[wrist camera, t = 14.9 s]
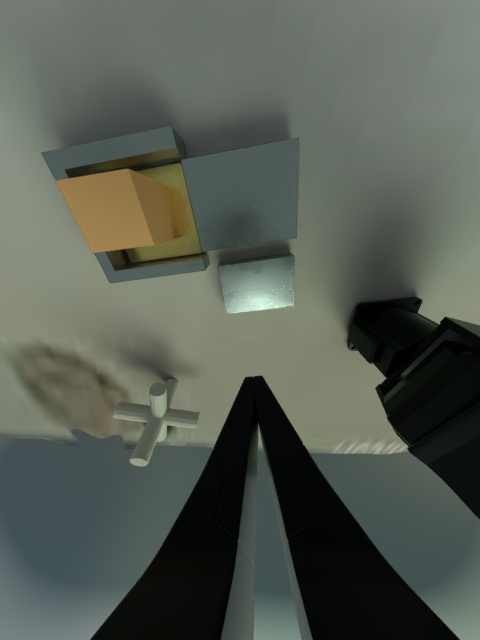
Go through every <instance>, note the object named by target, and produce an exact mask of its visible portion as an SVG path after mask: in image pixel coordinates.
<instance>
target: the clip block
mask: <svg viewBox="0 0 480 640" xmlns="http://www.w3.org/2000/svg"><path fill="white" fill-rule="evenodd" d="M55 182H56V184H57V186H58V188H59V190H60V192H61V193H62V195H63V197H64V199H65V201H66V203H67V205H68V207H69V209H70V211H71V213H72V215H73V217H74V219H75V221H76V222H77V224H78V226H79V228H80V230H81V232H82V234H83V236H84V238H85V240H86V242H87V244H88V246H89V248H90V250H91V251H92V253H98V252H105V251H113V250H120V249H128V248H136V247H143V246H151V245H156V244H160V243H163V242H166V241H170V240H173V239H177V238H178V236H177V232H176V228H175V225H174V221H173V217H172V213H171V210H170V206H169V202H168V199H167V195H166V191H165V188H164V184H162V183H160V182H158V181H155V180H153V179H151V178H149V177H146V176H144V175H142V174H140V173H137V172H135V171H133V170H130V169H122V170H116V171H110V172H104V173H98V174H92V175H86V176H80V177H75V178H69V179H63V180H57V181H55Z"/></svg>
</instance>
